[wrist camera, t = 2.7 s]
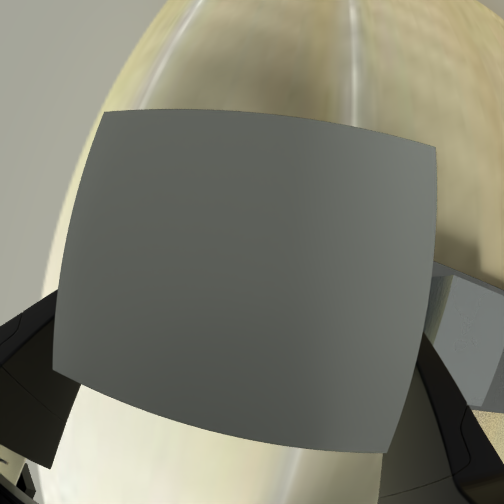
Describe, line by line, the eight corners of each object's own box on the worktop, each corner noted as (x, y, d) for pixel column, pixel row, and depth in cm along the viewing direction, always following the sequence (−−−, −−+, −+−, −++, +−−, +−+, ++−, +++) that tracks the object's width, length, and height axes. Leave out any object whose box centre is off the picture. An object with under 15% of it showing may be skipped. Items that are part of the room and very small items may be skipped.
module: (316, 334, 16) (386, 452, 4) (213, 315, 17) (52, 369, 4) (331, 247, 17) (435, 147, 4) (228, 230, 18) (104, 112, 5)
